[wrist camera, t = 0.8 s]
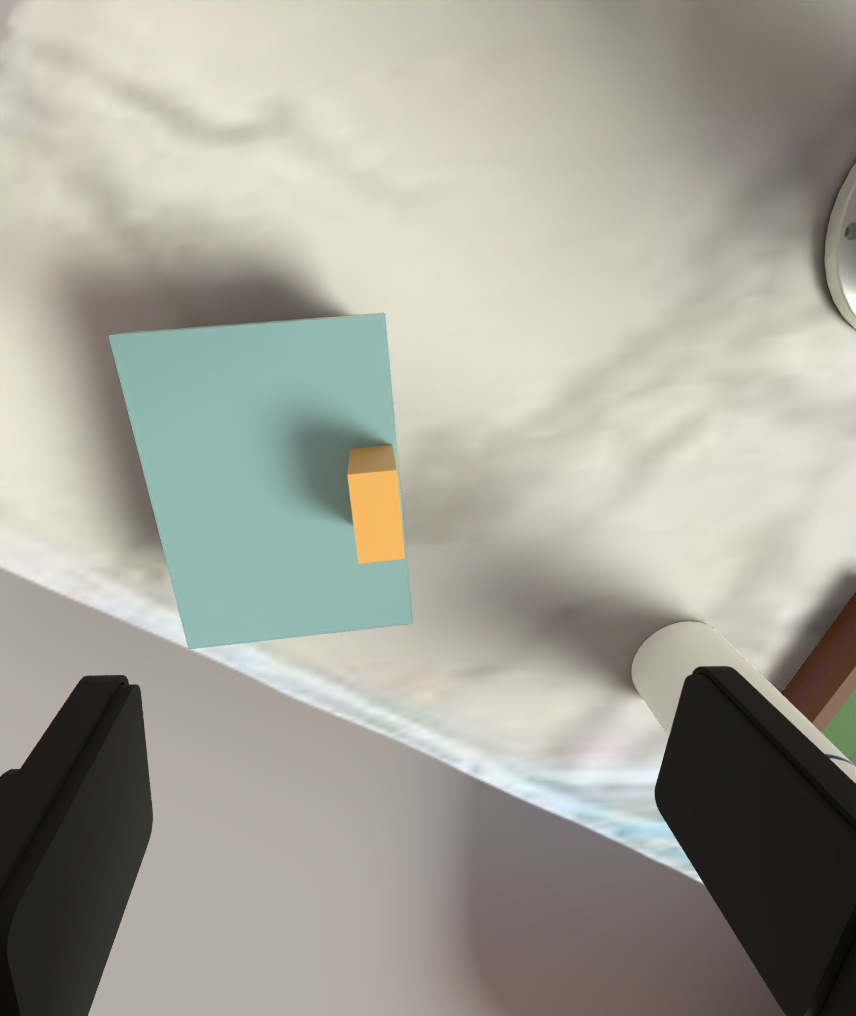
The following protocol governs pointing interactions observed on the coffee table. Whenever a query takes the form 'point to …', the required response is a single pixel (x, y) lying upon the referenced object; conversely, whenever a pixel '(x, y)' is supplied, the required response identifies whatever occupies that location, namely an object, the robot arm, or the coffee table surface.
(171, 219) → the coffee table surface
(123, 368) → the lid
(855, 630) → the hardcover book
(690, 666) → the cylindrical container
